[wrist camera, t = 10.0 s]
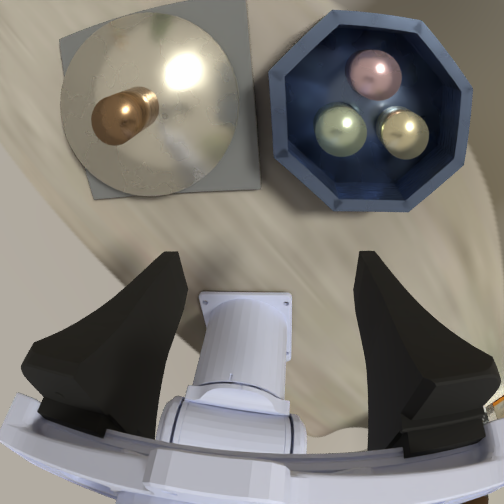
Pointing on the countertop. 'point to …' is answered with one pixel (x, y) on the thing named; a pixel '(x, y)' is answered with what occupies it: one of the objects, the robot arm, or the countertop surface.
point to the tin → (369, 112)
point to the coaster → (239, 54)
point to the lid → (149, 104)
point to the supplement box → (499, 408)
